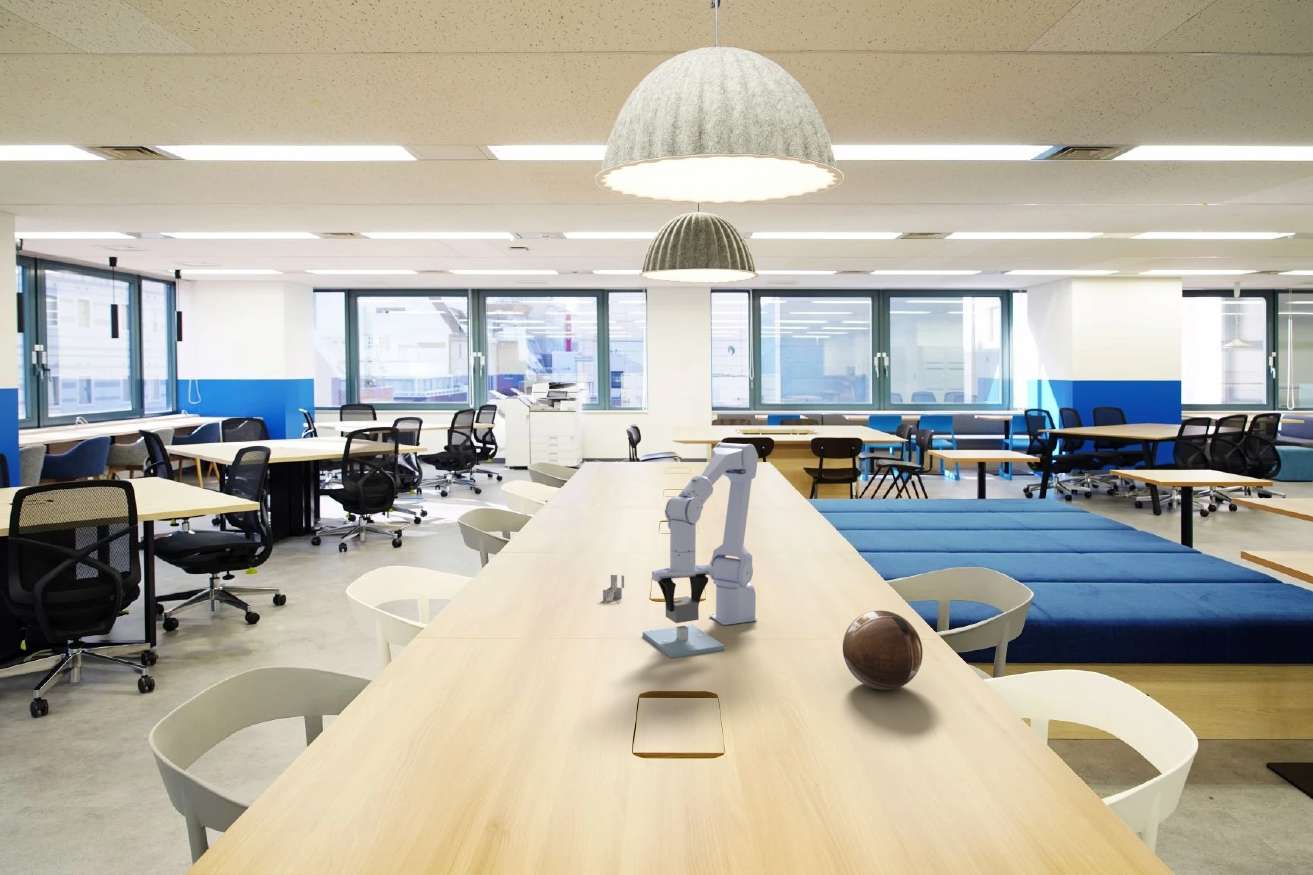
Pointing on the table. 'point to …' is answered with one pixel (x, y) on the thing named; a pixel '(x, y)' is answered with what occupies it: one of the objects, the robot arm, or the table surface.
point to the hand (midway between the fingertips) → (682, 608)
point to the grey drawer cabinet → (683, 610)
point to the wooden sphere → (882, 650)
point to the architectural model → (613, 589)
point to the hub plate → (682, 641)
